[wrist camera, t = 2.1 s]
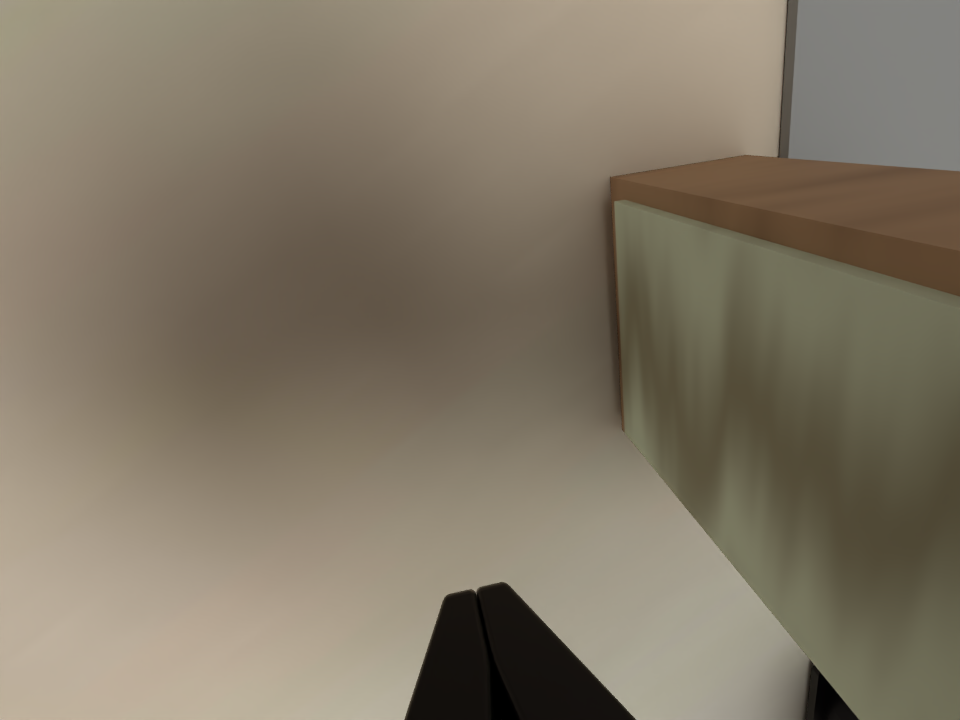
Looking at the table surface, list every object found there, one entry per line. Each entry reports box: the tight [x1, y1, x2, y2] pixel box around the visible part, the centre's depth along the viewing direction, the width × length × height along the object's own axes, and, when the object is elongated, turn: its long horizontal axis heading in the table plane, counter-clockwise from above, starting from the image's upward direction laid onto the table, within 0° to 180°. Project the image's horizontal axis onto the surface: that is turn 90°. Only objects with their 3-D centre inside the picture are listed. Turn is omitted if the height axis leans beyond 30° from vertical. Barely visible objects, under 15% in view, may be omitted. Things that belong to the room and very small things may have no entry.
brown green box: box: [610, 155, 960, 720], centre depth 12 cm, size 8×4×13 cm, turn 8°
